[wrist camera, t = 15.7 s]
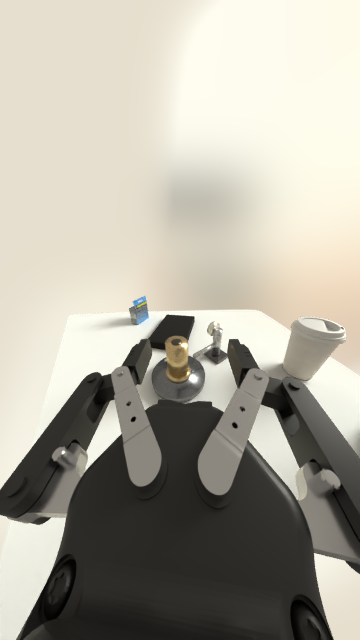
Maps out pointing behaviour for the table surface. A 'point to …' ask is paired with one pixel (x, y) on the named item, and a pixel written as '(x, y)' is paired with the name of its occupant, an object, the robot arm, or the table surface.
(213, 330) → the dial gauge stand
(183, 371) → the brass cover
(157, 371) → the turntable platter
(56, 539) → the table surface
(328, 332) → the coffee cup
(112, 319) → the table surface
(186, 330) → the external hard drive
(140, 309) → the label tape box
